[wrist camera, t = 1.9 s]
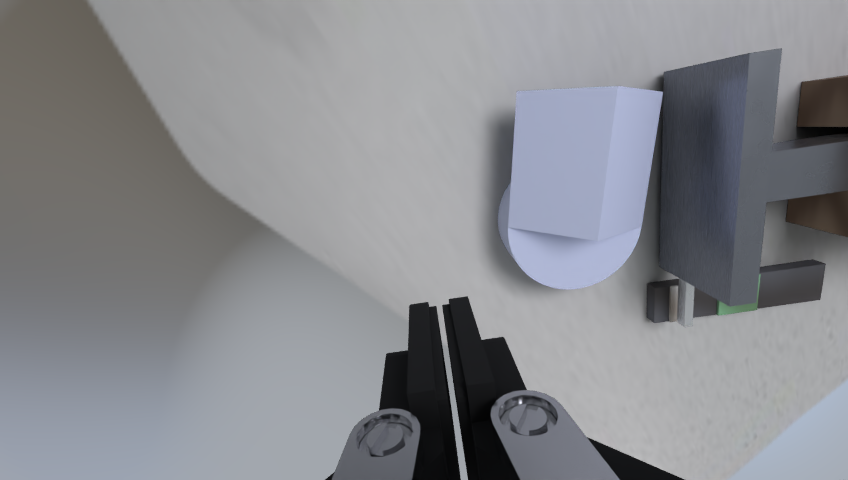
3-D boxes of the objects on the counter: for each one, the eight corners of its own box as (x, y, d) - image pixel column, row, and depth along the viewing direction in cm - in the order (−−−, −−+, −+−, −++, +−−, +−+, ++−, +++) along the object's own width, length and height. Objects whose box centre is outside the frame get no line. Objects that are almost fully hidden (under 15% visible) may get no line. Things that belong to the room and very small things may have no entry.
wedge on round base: (504, 95, 27) (494, 272, 31) (532, 85, 21) (516, 311, 24) (633, 95, 27) (608, 271, 31) (701, 86, 21) (660, 310, 24)
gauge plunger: (663, 71, 26) (749, 52, 20) (820, 48, 26) (961, 20, 19) (658, 313, 31) (724, 364, 25) (789, 294, 31) (892, 341, 24)
